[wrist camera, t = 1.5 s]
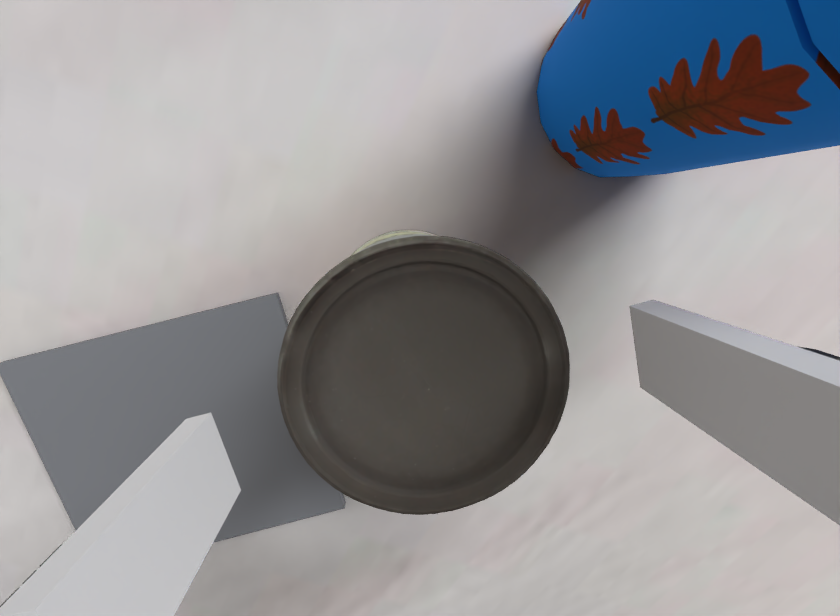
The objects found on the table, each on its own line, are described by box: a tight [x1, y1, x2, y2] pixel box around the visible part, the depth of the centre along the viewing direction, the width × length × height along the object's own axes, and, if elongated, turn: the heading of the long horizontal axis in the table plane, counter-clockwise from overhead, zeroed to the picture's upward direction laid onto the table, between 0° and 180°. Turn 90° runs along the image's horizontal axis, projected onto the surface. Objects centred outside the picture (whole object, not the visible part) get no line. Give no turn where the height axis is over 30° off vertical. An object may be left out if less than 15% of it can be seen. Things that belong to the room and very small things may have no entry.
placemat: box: [0, 293, 345, 543], centre depth 29 cm, size 16×18×1 cm
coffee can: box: [277, 230, 570, 515], centre depth 22 cm, size 10×10×14 cm
